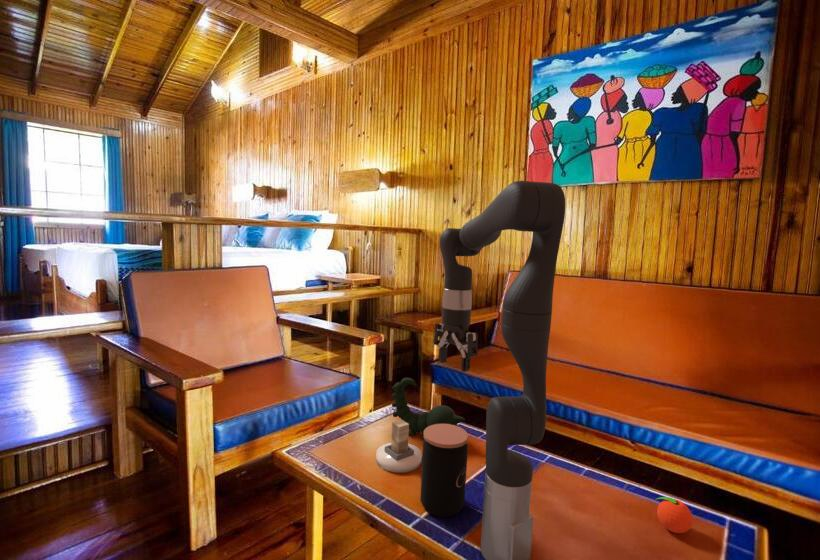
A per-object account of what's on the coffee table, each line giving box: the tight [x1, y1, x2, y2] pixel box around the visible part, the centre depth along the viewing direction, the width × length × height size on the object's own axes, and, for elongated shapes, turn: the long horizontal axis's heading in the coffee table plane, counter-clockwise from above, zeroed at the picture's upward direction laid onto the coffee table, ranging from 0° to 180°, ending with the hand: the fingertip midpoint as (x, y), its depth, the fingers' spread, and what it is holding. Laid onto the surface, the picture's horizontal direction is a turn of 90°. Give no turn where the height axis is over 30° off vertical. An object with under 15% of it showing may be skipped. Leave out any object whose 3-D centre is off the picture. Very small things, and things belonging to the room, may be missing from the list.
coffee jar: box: [419, 424, 469, 518], centre depth 104 cm, size 11×11×18 cm
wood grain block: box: [390, 419, 410, 455], centre depth 123 cm, size 3×3×9 cm
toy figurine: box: [391, 377, 466, 439], centre depth 138 cm, size 9×19×25 cm
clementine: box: [656, 496, 694, 534], centre depth 99 cm, size 8×7×7 cm
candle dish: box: [375, 442, 423, 474], centre depth 124 cm, size 13×13×4 cm
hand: (453, 366), depth 114 cm, fingers open, 8 cm apart
